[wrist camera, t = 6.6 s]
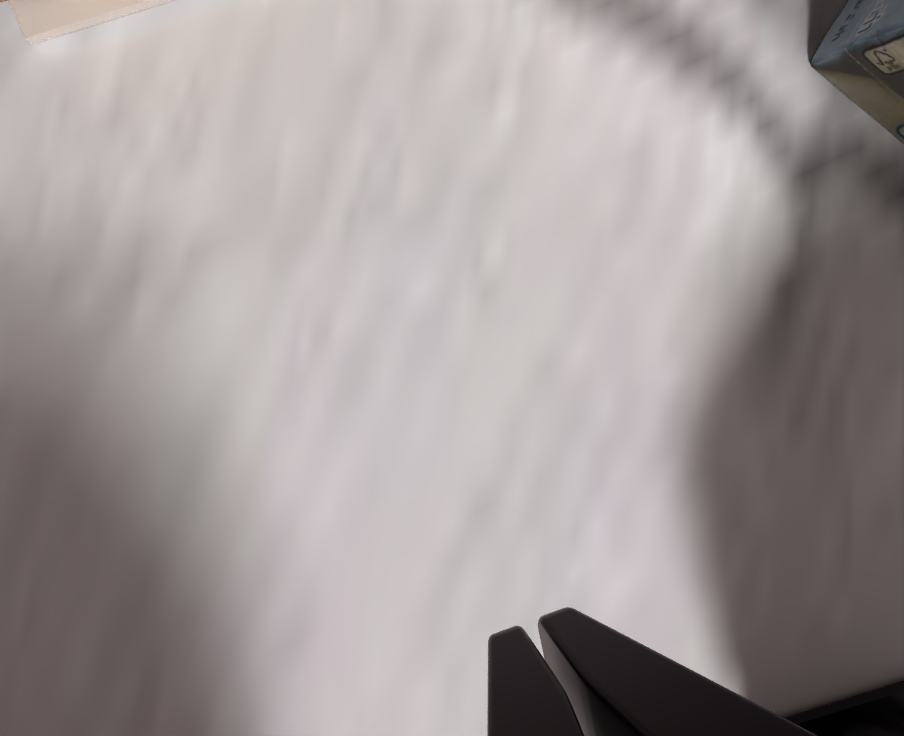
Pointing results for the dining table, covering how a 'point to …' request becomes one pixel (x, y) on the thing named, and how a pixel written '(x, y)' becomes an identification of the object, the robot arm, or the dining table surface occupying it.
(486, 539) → the dining table surface
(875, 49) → the beverage carton
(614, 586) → the dining table surface
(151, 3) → the threshold
